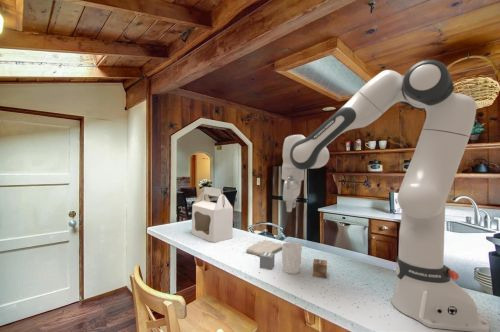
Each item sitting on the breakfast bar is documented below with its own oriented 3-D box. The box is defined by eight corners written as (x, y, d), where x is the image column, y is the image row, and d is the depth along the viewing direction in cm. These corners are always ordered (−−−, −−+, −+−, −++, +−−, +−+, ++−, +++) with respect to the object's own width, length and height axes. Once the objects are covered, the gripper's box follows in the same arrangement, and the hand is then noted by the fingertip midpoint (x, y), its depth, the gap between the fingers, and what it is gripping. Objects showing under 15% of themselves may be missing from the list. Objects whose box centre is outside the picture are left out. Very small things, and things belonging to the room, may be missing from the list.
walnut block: (326, 273, 96) (326, 259, 96) (326, 278, 92) (326, 264, 92) (313, 271, 98) (313, 258, 98) (312, 276, 93) (313, 263, 93)
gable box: (232, 238, 138) (233, 188, 137) (213, 243, 128) (214, 190, 128) (209, 230, 154) (210, 185, 153) (191, 234, 144) (192, 186, 144)
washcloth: (285, 248, 124) (285, 242, 124) (267, 260, 109) (267, 253, 109) (265, 244, 131) (265, 238, 131) (245, 254, 116) (245, 247, 116)
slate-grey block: (274, 265, 103) (274, 252, 103) (271, 270, 98) (271, 257, 98) (262, 263, 104) (263, 251, 104) (259, 268, 100) (259, 255, 100)
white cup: (301, 275, 94) (302, 249, 93) (280, 273, 95) (281, 247, 95) (301, 267, 101) (301, 243, 101) (282, 265, 103) (282, 241, 103)
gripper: (296, 177, 88) (295, 215, 88) (303, 174, 107) (302, 206, 107) (279, 176, 90) (278, 213, 90) (289, 173, 109) (288, 204, 109)
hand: (291, 209), depth 99 cm, fingers open, 8 cm apart
